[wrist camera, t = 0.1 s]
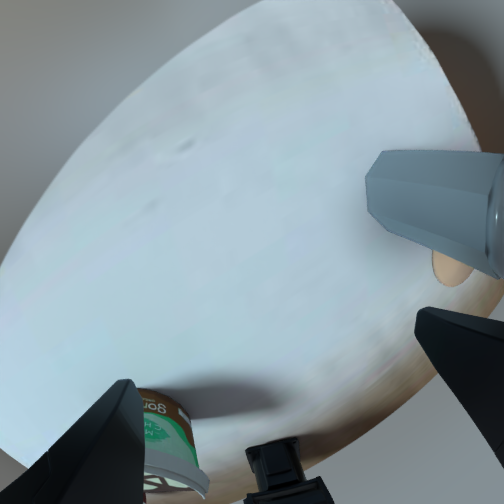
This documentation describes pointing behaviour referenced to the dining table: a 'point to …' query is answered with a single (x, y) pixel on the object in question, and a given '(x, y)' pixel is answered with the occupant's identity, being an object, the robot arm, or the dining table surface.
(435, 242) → the blue-gray container
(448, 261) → the terracotta coaster
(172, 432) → the food container
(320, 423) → the dining table surface
